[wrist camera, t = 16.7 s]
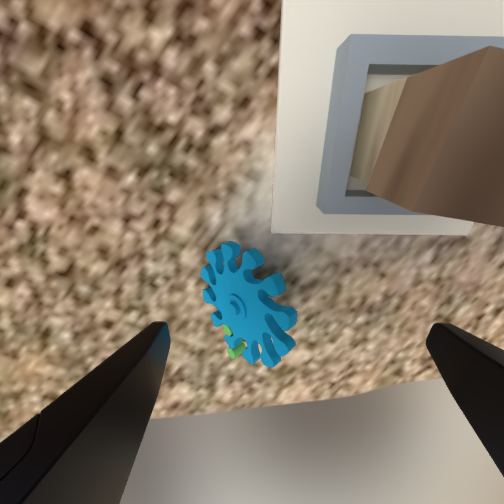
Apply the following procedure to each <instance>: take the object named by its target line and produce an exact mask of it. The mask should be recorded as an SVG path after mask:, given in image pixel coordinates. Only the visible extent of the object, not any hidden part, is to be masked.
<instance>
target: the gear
mask: <svg viewBox="0 0 504 504" xmlns="http://www.w3.org/2000/svg"><path fill="white" fill-rule="evenodd" d="M240 253H241V247H240V245H239V244H237V243H236V242H232V241H229V242H226V243H223V244H222V245H221V249H220V248H219V249H216V250H213V251H210V252H208V253H206V256H207V259H208V261H209V263H210V264H211V265H208V266H205V267H203V268H202V270H201V277H202V278H203V279H204V280H205V281H206V282H207V283H208V284H209V285H210V286H211V287H208V288H206V289H204V290H203V298H204V301H205V302H206V303H211V304H213V305H214V306H215V307H216V308H217V309H218V311H216V312H214V313H212V314H211V318H212V321H213V324H214V326H215V327H219V326H220V325H222V324H225V325H224V326H223V329H224V331H225V333H226V334H227V335H225V337H224V338H225V340H226V342H227V344H228V345H229V348H228V349H227V351H228V354H229V356H230V357H231V358H232V359H234V358H236V357H237V356H238V355H240V354H241V353H242V355H243V357H244V358H245V359H246V360H247V361H248V362H249V363H251V364H254V363H255V362H256V361H257V360H258V359H260V352H259V348H258V343H259V344H260V345H261V347H262V353H261V361H262V363H263V364H264V365H266V366H268V367H274V366H276V365H277V364H278V363H279V362H280V361H281V357H280V356H284V355H286V354H287V353H288V352H289V351H290V350H291V349H292V348H294V346H295V345H296V343H295V341H294V340H293V338H292V337H291V336H289V335H288V334H286V333H285V332H284V331H283V330H285V331H288V330H289V329H290V328H292V327H293V326H294V325H295V324H296V321H297V311H296V310H295V309H294V308H292V307H290V306H282V305H279V304H277V303H276V302H274V301H273V300H272V299H271V298H269V297H268V296H273V297H275V296H277V295H279V294H281V293H282V292H284V291H285V290H286V286H285V281H284V280H283V278H282V276H281V274H280V273H275V274H273V275H271V276H269V277H267V278H265V279H264V280H260V279H256V278H255V277H254V276H253V275H252V272H251V270H252V269H255V268H257V267H259V266H261V265H263V263H264V258H263V256H262V255H261V254H260V252H259V251H258V250H257V249H256V248H253V249H250V250H248V251H245V252H244V253H243V256H242V264H241V267H240V268H238V267H237V265H236V258H237V257H238V256H239V255H240ZM223 261H224V265H223ZM274 318H275V319H274ZM281 328H282V329H283V330H282V329H281ZM271 337H272V339H273V343H272V340H271ZM243 341H244V342H246V343H247V348H246V347H245V344H244V343H243ZM273 344H274V345H273Z"/></svg>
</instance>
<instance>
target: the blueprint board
mask: <svg viewBox="0 0 504 504" xmlns="http://www.w3.org/2000/svg"><path fill="white" fill-rule="evenodd" d="M487 46H494V47H499V48H503V49H504V0H282V7H281V28H280V48H279V69H278V89H277V110H276V130H275V151H274V171H273V192H272V212H271V234H380V235H469V233H470V231H471V228H472V226H473V224H474V222H472V221H466V220H460V219H454V218H448V217H442V216H436V215H430V214H424V213H418V212H412V211H410V210H407V209H405V208H403V207H401V206H399V205H396V204H394V203H392V202H390V201H388V200H385V199H383V198H381V197H379V196H377V195H374V194H372V193H370V192H368V191H366V188H367V186H368V183H367V182H365V181H362V180H359V179H357V178H354V177H352V176H350V172H351V167H352V161H353V156H354V150H355V145H356V139H357V134H358V128H359V122H360V117H361V111H362V106H363V100H364V95H365V93H367V92H370V91H372V90H375V89H377V88H380V87H382V86H385V85H387V84H390V83H393V82H395V81H398V80H400V79H403V78H405V77H408V76H410V75H413V74H418V73H420V72H423V71H425V70H428V69H431V68H433V67H436V66H438V65H441V64H444V63H446V62H449V61H451V60H454V59H456V58H459V57H462V56H464V55H467V54H469V53H472V52H474V51H477V50H480V49H482V48H485V47H487Z"/></svg>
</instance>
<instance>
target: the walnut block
mask: <svg viewBox="0 0 504 504" xmlns="http://www.w3.org/2000/svg"><path fill="white" fill-rule="evenodd" d="M366 191H368V192H370V193H372V194H374V195H377V196H379V197H381V198H383V199H385V200H388V201H390V202H392V203H394V204H396V205H399V206H401V207H403V208H405V209H407V210H410V211H412V212H418V213H424V214H430V215H436V216H442V217H448V218H454V219H460V220H466V221H472V222H478V223H484V224H490V225H496V226H502V227H504V49H503V48H499V47H494V46H487V47H485V48H482V49H480V50H477V51H474V52H472V53H469V54H467V55H464V56H462V57H459V58H456V59H454V60H451V61H449V62H446V63H444V64H441V65H438V66H436V67H433V68H431V69H428V70H425V71H423V72H420V73H418V74H415V75H413V76H410V77H407V80H406V82H405V85H404V88H403V91H402V93H401V96H400V99H399V101H398V104H397V107H396V110H395V112H394V115H393V118H392V120H391V123H390V126H389V129H388V131H387V134H386V137H385V139H384V142H383V145H382V148H381V150H380V153H379V156H378V159H377V161H376V164H375V167H374V169H373V172H372V175H371V178H370V180H369V183H368V186H367V188H366Z"/></svg>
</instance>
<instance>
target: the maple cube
mask: <svg viewBox="0 0 504 504" xmlns="http://www.w3.org/2000/svg"><path fill="white" fill-rule="evenodd" d="M413 75H415V74H413ZM413 75H410V76H413ZM410 76H408V77H410ZM406 80H407V77H405V78H403V79H400V80H398V81H395V82H393V83H390V84H387V85H385V86H382V87H380V88H377V89H375V90H372V91H370V92H367V93H365V95H364V100H363V106H362V111H361V117H360V122H359V128H358V134H357V139H356V145H355V150H354V156H353V161H352V167H351V172H350V176H352V177H354V178H357V179H359V180H362V181H365V182H367V183H369V180H370V178H371V175H372V172H373V169H374V167H375V164H376V161H377V159H378V156H379V153H380V150H381V148H382V145H383V142H384V139H385V137H386V134H387V131H388V129H389V126H390V123H391V120H392V118H393V115H394V112H395V110H396V107H397V104H398V101H399V99H400V96H401V93H402V91H403V88H404V85H405V82H406Z"/></svg>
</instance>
